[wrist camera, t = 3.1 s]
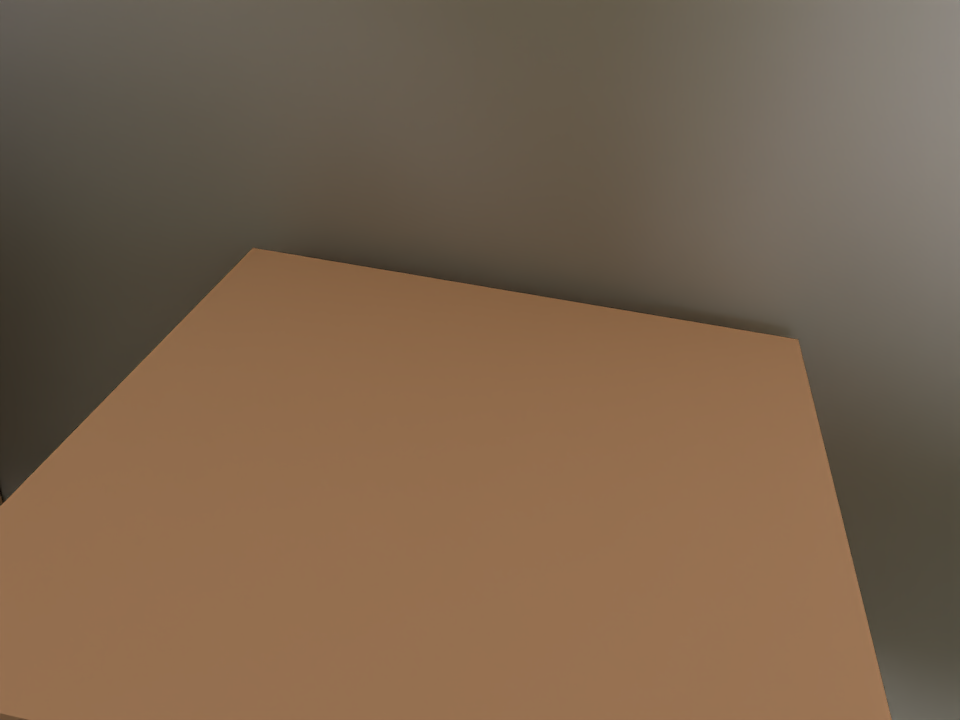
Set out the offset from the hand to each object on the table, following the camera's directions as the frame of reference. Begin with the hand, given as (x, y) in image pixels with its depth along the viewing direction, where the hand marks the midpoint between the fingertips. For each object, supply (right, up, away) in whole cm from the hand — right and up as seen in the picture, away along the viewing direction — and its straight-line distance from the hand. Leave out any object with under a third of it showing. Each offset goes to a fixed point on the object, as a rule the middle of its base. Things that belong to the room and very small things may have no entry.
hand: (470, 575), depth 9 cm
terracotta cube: (0, 0, +1) cm, 1 cm away
